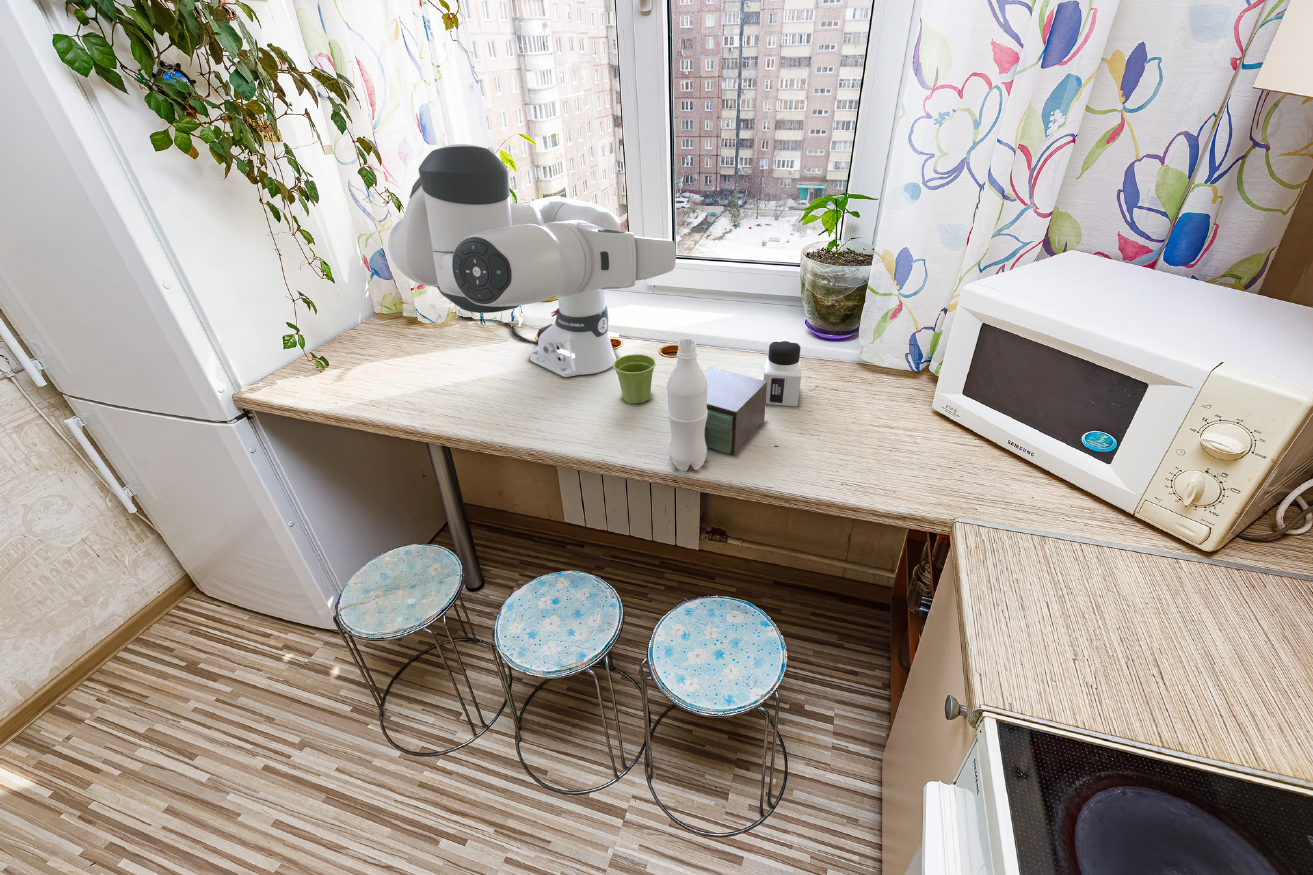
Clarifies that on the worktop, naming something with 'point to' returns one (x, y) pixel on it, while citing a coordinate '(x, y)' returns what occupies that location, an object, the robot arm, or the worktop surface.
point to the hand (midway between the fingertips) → (635, 249)
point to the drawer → (719, 431)
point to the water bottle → (687, 409)
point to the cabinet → (737, 402)
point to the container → (783, 373)
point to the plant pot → (635, 376)
